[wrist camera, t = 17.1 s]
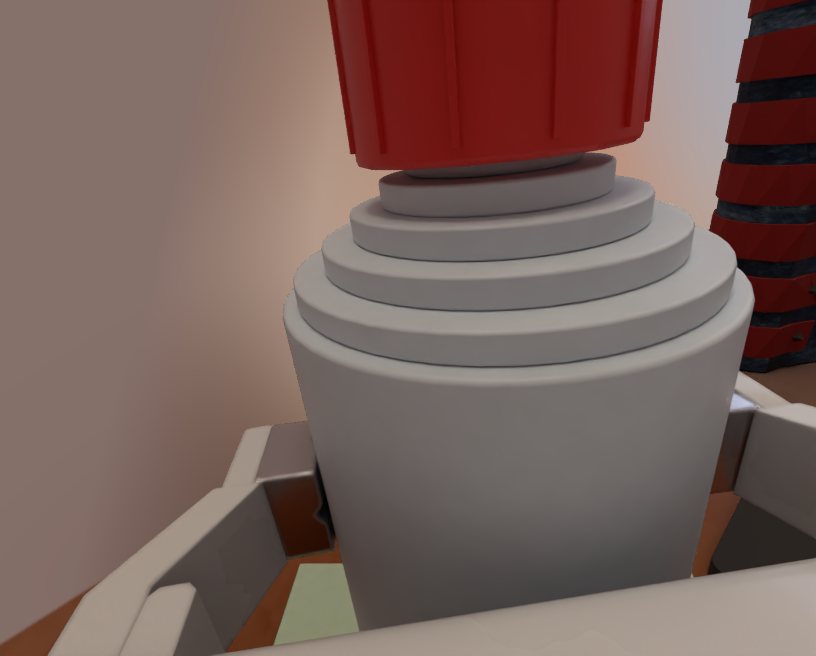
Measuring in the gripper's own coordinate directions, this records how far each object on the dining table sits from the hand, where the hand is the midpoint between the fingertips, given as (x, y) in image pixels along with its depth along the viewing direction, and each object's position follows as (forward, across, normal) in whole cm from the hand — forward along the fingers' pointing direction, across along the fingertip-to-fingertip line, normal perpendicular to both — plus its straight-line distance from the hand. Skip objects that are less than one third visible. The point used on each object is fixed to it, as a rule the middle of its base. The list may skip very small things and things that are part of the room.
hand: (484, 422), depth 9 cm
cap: (-1, 0, -8) cm, 8 cm away
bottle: (-1, 0, +8) cm, 9 cm away
